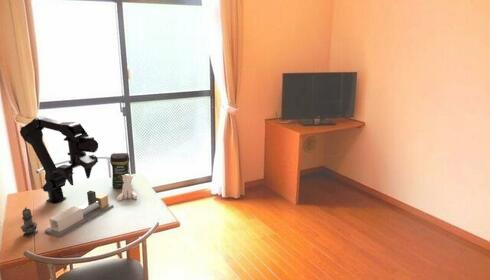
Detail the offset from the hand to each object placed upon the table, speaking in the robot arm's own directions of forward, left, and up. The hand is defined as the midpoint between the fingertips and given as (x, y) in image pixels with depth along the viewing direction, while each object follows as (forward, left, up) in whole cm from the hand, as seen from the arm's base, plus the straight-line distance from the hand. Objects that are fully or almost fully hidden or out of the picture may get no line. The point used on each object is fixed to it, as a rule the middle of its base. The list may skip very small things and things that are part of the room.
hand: (80, 181), depth 164 cm
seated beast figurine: (+13, +16, -12) cm, 24 cm away
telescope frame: (+10, -9, -12) cm, 18 cm away
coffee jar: (+1, +25, -12) cm, 28 cm away
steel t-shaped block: (+10, -6, -10) cm, 15 cm away
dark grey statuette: (+1, -28, -12) cm, 30 cm away
